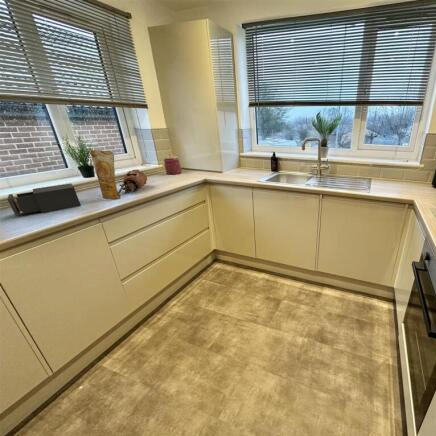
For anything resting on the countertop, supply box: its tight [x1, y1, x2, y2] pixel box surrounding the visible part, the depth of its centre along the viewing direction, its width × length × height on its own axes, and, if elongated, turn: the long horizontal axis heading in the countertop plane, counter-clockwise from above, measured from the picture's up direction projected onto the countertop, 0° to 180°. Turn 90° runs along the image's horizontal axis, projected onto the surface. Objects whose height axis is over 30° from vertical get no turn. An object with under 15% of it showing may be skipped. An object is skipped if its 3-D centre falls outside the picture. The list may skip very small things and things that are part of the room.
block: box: [14, 198, 22, 213], centre depth 123 cm, size 6×6×6 cm
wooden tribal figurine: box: [118, 169, 148, 195], centre depth 162 cm, size 15×15×25 cm
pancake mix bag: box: [89, 149, 121, 200], centre depth 143 cm, size 7×19×28 cm, turn 64°
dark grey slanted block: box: [32, 182, 82, 214], centre depth 131 cm, size 16×14×11 cm
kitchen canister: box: [162, 152, 182, 176], centre depth 211 cm, size 13×13×18 cm
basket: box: [0, 191, 41, 217], centre depth 122 cm, size 21×13×9 cm, turn 136°
